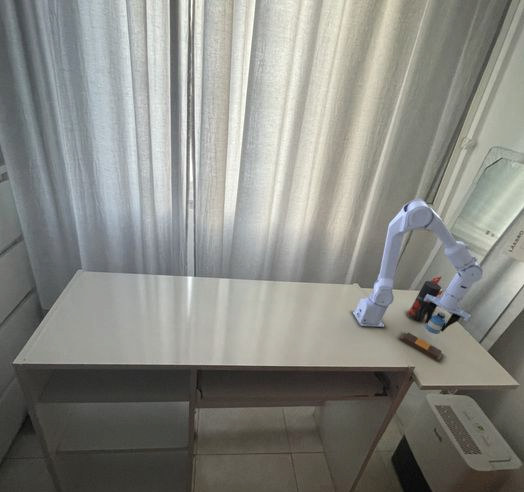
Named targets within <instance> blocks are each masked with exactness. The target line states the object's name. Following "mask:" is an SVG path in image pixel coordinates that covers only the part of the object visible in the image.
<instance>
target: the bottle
mask: <svg viewBox="0 0 524 492" xmlns="http://www.w3.org/2000/svg"><path fill="white" fill-rule="evenodd" d="M447 322H448V320H447V319H446V314H445V313H444V312H441V311H438V312H437V313H433V314H432V316H431V317H430V319H429V321H428V322H427V323H426V324H425V326H424V328H425V330H427V331H428V332H429V333H431V334H434V335H439V334H440V333H441V332H442V331H441V330H442V328H443V327H444V325H445V324H446V323H447Z"/></svg>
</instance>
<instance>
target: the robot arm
mask: <svg viewBox="0 0 524 492" xmlns="http://www.w3.org/2000/svg"><path fill="white" fill-rule="evenodd" d="M421 228H424V229H425V230H429V231H432V232H434V234H435V236H437V238H438V239H439V240H440V241H441V243H442V244H443V245H444V246H445V249H444V255H445V257H447V259H448V260H449V262H450V263H451V264H452V266H453V267H454V268H455V269H456V274H454V277H453V278H452V279H451V281H450V283H449V285H448V286H447V287H446V289H445V291H444V293H443V294H442V295H441V297H439V298H437V297H434V296H431V295H429V294H427V295H426V297H425V298H424V301H428V302H430V303H429V304H428V306H427V314H426V317H425V321H424V323H426V324H427V322H428V321H429V319H430V317H431V316H432V315H433V314H434V312H435V311H436V309H437V308H440V309H442V310H444V311H447V312H448V313H450V314H451V315H450V317H449V318H448V320H447V322H446V324H445V325H444V327H443V328H442V330H441V331H440V332H444V331H445V330H446V329H447V328H448V327H450V326H452V325H453V324H455V323H457V322H458V321H459V320H460V319H462V321H464V322H468V320H469V319H470V317H471V314H470V313H468V312H466V311H465V310H463V309H462V308H460V307H459V306H460V305H461V303H462V302H463V300H464V299H465V297H466V296H467V294H468V293H469V291H470V289H472V287H473V285H474V284H475V283H477V282H479V281H480V280H482V278H483V268H482V267H481V266H480V264H479V263H478V262H477V261H478V258H477V257H476V256H473V254H472V252H470V250H469V249H470V246H469V245H468V244H467V243H464V242H463V241H458V240H456V239H455V238H454V236H453V235H452V233H451V232H450V230H449V228H448V227H447V226H446V224H445V222H444V221H443V220H442V218H441V217H440V215H439V214H438V213H437V212H435V211H434V210H433V208H432V207H430V206H428V203H427V202H426V201H425V200H423V199H421V198H416V199H412V200H410V201H409V202H407V203H406V204H404V205H403V206H402V207H401V210H400V211H399V212H398V213H397V214H396V215H395V217H394V218H393V219H392V220H391V221H390V222H389V223H388V228H387V232H386V236H385V242H384V248H383V253H382V259H381V263H380V268H379V269H380V270H379V274H378V275H377V280H376V281H375V282H374V283H373V292H372V293H370V294H369V296H368V297H365V298H361V299H359V302H358V303H357V306H356V308H355V309H354V311H353V312H352V314H353V316H354V317H355V319H356V321H357V322H358V323H359V325H360V327H373V328H377V327H378V328H384V327H385V324H384V323H383V321H382V320H383V318H384V316H385V314H386V312H387V310H388V308H389V307H390V305H391V304H392V303H393V302H394V299H395V297H394V292H393V290H394V279H395V274H396V270H397V266H398V262H399V261H398V260H399V256H400V251H401V247H402V242H403V238H404V235H405V234H407V233H408V232H411V231H413V230H417V229H421Z"/></svg>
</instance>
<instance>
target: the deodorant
mask: <svg viewBox="0 0 524 492" xmlns="http://www.w3.org/2000/svg"><path fill="white" fill-rule="evenodd" d="M441 289H442V286H441V285H439V283H438V284H436V283H434V282H431V280H426V281H424V283H423V285H422V286H421V288H420V290H419V292H418V294H417V296H416V297H415V299H414V301H413V303H412V305H411V307H410V308H409V310H408V312H407V317H408V318H410V319H411V320H412V321H415V322H423V320H424V319H425V318H426V316H427V306H428V304H429V303H430V302H428V301H424V298H425V297H426V295H427V294H429V295H431V296H434V297H437V295H438V293H439V292H440V290H441Z"/></svg>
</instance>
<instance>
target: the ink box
mask: <svg viewBox="0 0 524 492" xmlns="http://www.w3.org/2000/svg"><path fill="white" fill-rule="evenodd" d="M442 277H443V276H438V277H435V278H432V279H431V280H430V281H431V282H434V283H436V284H438V285H439V282H440V281H441V279H442ZM443 291H444V290H443V289H442V288H441V290H440V292H439V293H438V295H437V298H441V296H442V293H443Z"/></svg>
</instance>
